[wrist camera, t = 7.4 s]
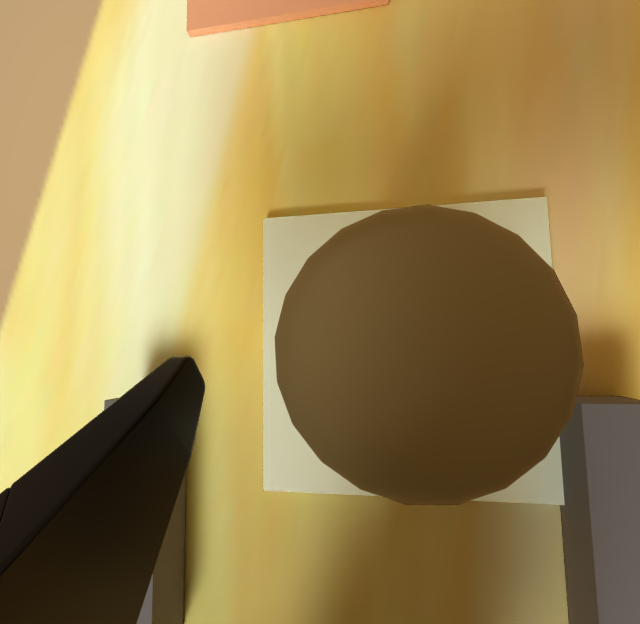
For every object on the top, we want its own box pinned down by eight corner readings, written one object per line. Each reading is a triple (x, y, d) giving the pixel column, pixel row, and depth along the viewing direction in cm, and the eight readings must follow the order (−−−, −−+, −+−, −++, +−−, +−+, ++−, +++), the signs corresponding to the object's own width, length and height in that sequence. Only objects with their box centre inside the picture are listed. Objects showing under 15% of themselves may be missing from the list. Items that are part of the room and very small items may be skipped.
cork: (347, 437, 16) (264, 605, 6) (315, 298, 17) (191, 209, 6) (495, 408, 15) (740, 541, 5) (455, 262, 16) (584, 90, 5)
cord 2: (183, 625, 17) (150, 669, 15) (133, 620, 18) (94, 661, 15) (187, 394, 18) (157, 400, 16) (140, 394, 19) (105, 400, 16)
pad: (565, 501, 15) (570, 505, 15) (266, 487, 17) (263, 490, 17) (542, 200, 16) (546, 196, 16) (265, 221, 18) (263, 218, 18)
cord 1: (645, 678, 14) (696, 744, 12) (572, 670, 15) (608, 732, 12) (620, 396, 15) (662, 404, 13) (552, 395, 16) (581, 403, 13)
